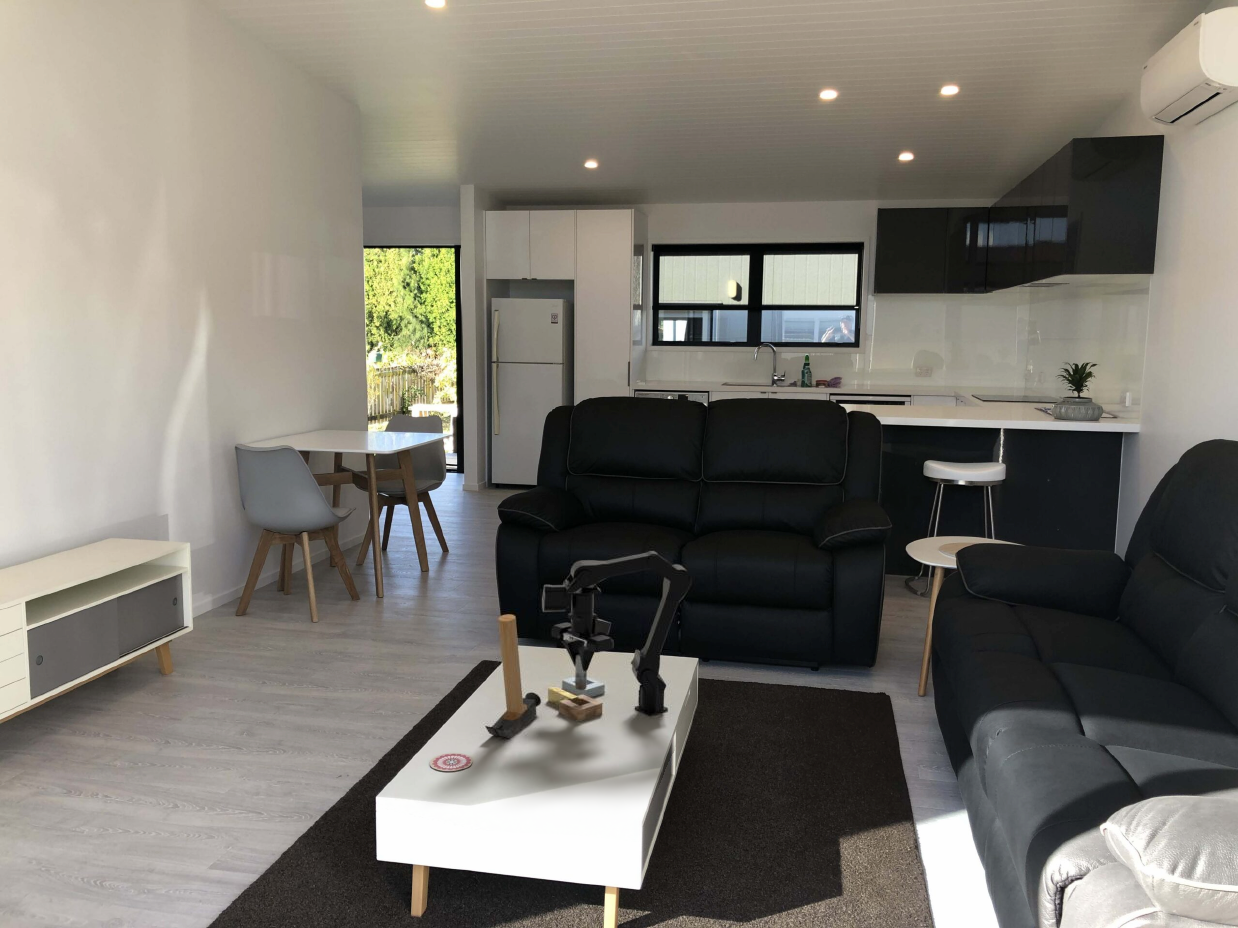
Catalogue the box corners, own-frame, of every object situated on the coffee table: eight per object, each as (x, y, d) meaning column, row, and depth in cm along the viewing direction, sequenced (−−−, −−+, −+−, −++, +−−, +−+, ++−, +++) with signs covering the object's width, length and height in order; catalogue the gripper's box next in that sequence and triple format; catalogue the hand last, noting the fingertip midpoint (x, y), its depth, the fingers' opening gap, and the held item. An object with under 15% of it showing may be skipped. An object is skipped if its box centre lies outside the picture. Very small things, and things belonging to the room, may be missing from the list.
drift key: (578, 709, 242) (578, 696, 242) (571, 711, 241) (571, 698, 240) (554, 698, 249) (554, 686, 249) (548, 700, 248) (548, 687, 248)
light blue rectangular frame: (604, 692, 255) (604, 684, 254) (585, 698, 250) (585, 689, 250) (581, 683, 262) (581, 674, 262) (562, 688, 257) (562, 680, 257)
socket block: (602, 713, 239) (602, 702, 239) (578, 721, 234) (578, 710, 234) (582, 705, 245) (582, 694, 245) (559, 712, 240) (559, 701, 240)
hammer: (505, 750, 221) (495, 638, 212) (487, 747, 223) (476, 635, 214) (542, 708, 239) (534, 602, 230) (525, 705, 240) (516, 599, 232)
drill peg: (588, 688, 239) (589, 654, 238) (580, 690, 237) (580, 656, 236) (581, 684, 241) (582, 651, 240) (572, 687, 239) (573, 653, 238)
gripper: (629, 613, 235) (628, 672, 237) (582, 598, 249) (581, 653, 251) (597, 620, 228) (595, 681, 229) (550, 604, 241) (549, 662, 243)
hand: (581, 669), depth 238 cm, fingers closed on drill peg, 3 cm apart
